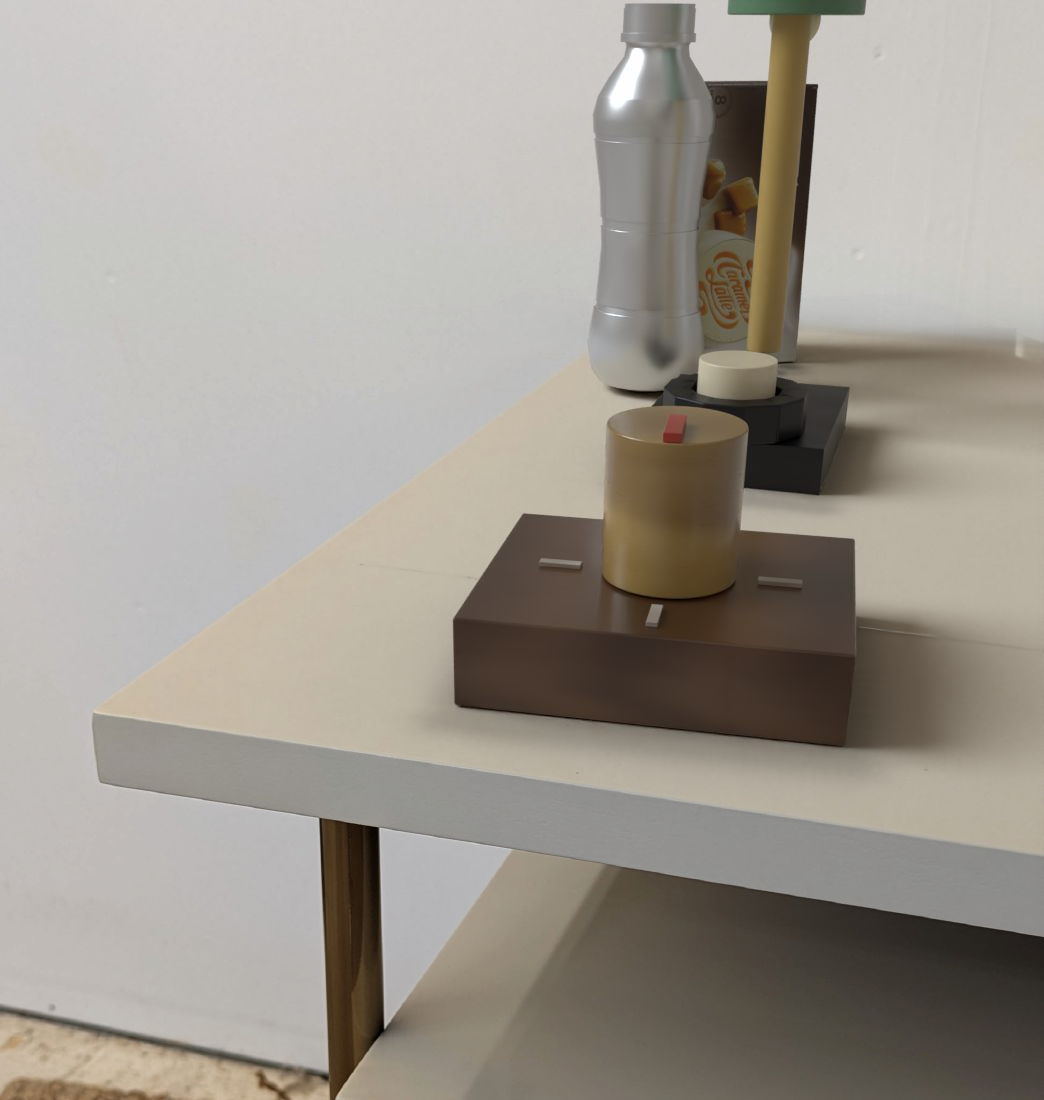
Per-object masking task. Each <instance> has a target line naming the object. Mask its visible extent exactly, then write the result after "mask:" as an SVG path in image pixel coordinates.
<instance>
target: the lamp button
mask: <svg viewBox="0 0 1044 1100" xmlns="http://www.w3.org/2000/svg"><path fill="white" fill-rule="evenodd" d="M778 367H779V362H778V360H777V359H776V358H775V357H773V356H770V355H767V354H763V353H758V352H751V351H736V350H729V351H715V352H710V353H706V354H703V355H701V356H700V358H699V369H698V385H697V393H698V394H701V395H705V396H709V397H714V398H721V399H733V400H754V399H767V398H771V397H774V396H775V390H776V379H777V377H778Z"/></svg>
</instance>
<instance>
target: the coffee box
mask: <svg viewBox="0 0 1044 1100" xmlns="http://www.w3.org/2000/svg"><path fill="white" fill-rule="evenodd" d="M704 82H705V84H706V86H707V88H708V90H709V92H710V95H711V97H712V100H713V105H714V110H715V114H716V119H715V127H714V134H712V139H711V140H712V145H711V151H710V156H709V161H708V167H707V172H706V177H705V183H704V188H703V197H702V207H701V218H700V219H699V223H698V227H699V237H698V277H699V303H698V307H699V308H700V309H701V315H702V321H703V333H704V350H703V354H706V353H710V352H715V351H729V350H736V351H748V350H747V348H746V347H747V335H748V322H749V310H750V297H751V285H752V272H753V260H754V247H755V235H756V222H757V210H758V197H759V185H760V172H761V160H762V147H763V135H764V122H765V110H766V97H767V85H768V80H704ZM818 90H819V84H818V83H806V89H805V100H804V110H803V121H802V132H801V143H800V154H799V165H798V176H797V187H796V197H795V208H794V219H793V230H792V241H791V252H790V263H789V274H788V285H787V295H786V306H785V317H784V328H783V339H782V349H781V351H780V352H777V353H763V354H767V355H770V356H773V357H775V358H776V359H777V360H778V363H790V362H791V363H792V362H796V359H797V351H798V338H799V325H800V311H801V301H802V288H803V273H804V264H805V263H804V262H805V251H806V250H805V249H806V239H807V227H808V214H809V201H810V192H811V191H810V190H811V176H812V167H813V165H812V164H813V154H814V153H813V152H814V142H815V141H814V139H815V130H816V129H815V127H816V114H817V104H818V103H817V102H818Z"/></svg>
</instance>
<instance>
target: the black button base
mask: <svg viewBox="0 0 1044 1100" xmlns="http://www.w3.org/2000/svg"><path fill="white" fill-rule="evenodd" d="M697 385H698V373H697V374H696V373H695V374H691V375H688V374H680V375H679V376H678V378H674V379H671V380H670V381H669V382H668V384H667V385H666V386H665V387H664V390H663V392H662V394H661V395H659V397H658V398H657V399H656V400H655V402H654V403H653V404H651V406H650V407H653V406H687V407H698V408H705V409H711V410H716V411H721V412H724V413H728V414H731V415H734V416H736V417H738V418H740V419H742V420H743V421H745V422H746V423H747V425H748V428H749V432H748V444H747V456H746V468H745V480H744V489H749V490H761V491H770V492H781V493H789V494H801V495H812V496H820V494H821V492H822V489H823V487H824V484H825V481H826V479H827V476H828V473H829V471H830V468H831V466H832V463H833V460H834V458H835V455H836V452H837V450H838V448H839V444H840V442H841V440H842V437H843V434H844V431H845V429H846V425H847V415H848V407H849V399H850V398H849V397H850V389H851V388H850V387H849V386H841V385H828V384H815V383H803V382H802V383H801V382H797V381H795V380H793V379H788V378H784V377H781V376H780V377H779V376H777V379H776V390H775V396H774V397H771V398H767V399H754V400H733V399H721V398H714V397H709V396H705V395H701V394H698V393H697Z"/></svg>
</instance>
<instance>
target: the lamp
mask: <svg viewBox="0 0 1044 1100" xmlns="http://www.w3.org/2000/svg"><path fill="white" fill-rule="evenodd" d="M866 6H867V0H727V10H726V11H727V12H726V13H727V15H729V16H769V20H768V22H769V23H768V24H769V25H768V26H769V30H770V33H771V38H770V50H769V59H768V61H769V62H768V73H767V74H768V75H767V81H768V85H767V97H766V110H765V122H764V135H763V147H762V160H761V172H760V185H759V197H758V210H757V222H756V235H755V247H754V260H753V272H752V285H751V297H750V310H749V322H748V335H747V347H746V348H747V350H748V351H751V352H758V353H777V352H780V351H781V349H782V339H783V328H784V317H785V306H786V295H787V285H788V274H789V263H790V252H791V241H792V230H793V219H794V208H795V197H796V187H797V176H798V165H799V154H800V143H801V132H802V121H803V110H804V100H805V89H806V84H807V76H808V65H809V55H810V44H811V41H812V40H813V39H814V38H815V36H816V35H817V33H818V32H819V29H820V26H821V22H822V20H821V19H822V16H865V14H866Z"/></svg>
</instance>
